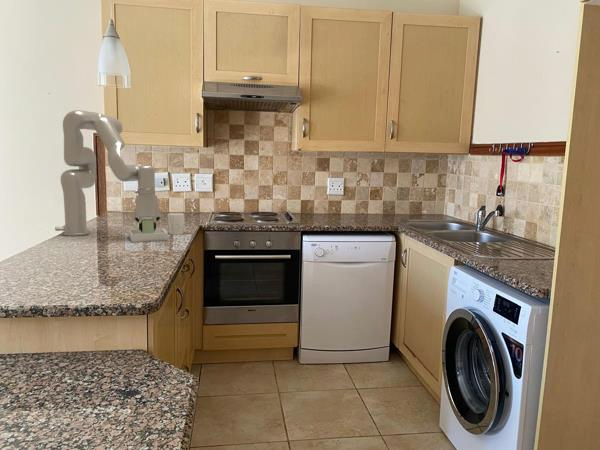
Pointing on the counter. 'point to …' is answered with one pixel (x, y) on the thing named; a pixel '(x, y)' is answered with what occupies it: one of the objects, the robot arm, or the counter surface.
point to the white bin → (148, 236)
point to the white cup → (176, 223)
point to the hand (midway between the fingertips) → (147, 230)
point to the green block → (147, 226)
